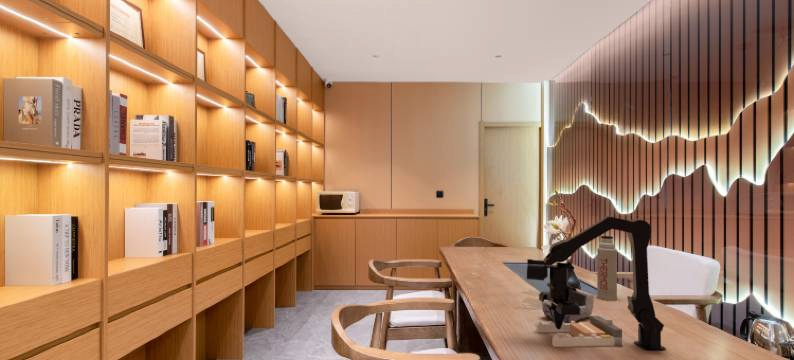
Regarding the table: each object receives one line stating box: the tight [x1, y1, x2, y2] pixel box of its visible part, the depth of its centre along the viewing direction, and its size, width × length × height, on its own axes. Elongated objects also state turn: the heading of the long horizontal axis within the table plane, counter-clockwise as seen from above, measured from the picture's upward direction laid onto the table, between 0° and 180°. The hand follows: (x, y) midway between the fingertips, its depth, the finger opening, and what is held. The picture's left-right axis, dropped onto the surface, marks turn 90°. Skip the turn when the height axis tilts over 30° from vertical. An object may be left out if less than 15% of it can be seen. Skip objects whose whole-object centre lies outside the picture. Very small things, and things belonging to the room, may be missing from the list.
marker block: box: [569, 322, 606, 337], centre depth 145 cm, size 10×7×4 cm
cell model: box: [541, 288, 595, 323], centre depth 167 cm, size 13×11×20 cm
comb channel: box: [535, 315, 623, 348], centre depth 144 cm, size 15×22×6 cm
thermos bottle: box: [596, 235, 618, 301], centre depth 197 cm, size 8×8×28 cm
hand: (558, 328), depth 144 cm, fingers closed
